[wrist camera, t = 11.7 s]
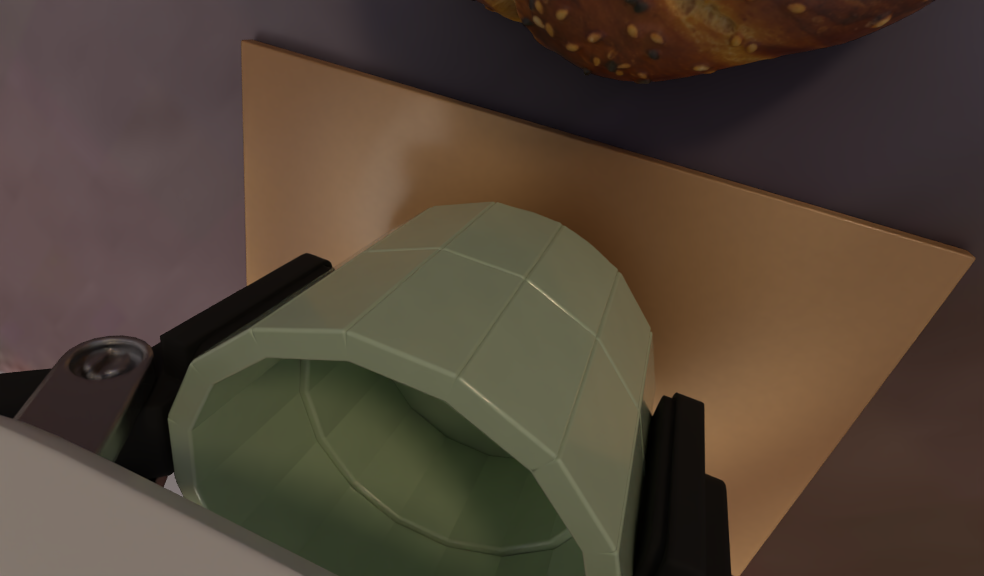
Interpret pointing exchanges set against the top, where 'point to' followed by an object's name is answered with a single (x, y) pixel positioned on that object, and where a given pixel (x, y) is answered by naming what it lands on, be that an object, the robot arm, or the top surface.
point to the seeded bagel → (693, 31)
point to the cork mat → (615, 256)
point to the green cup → (434, 407)
